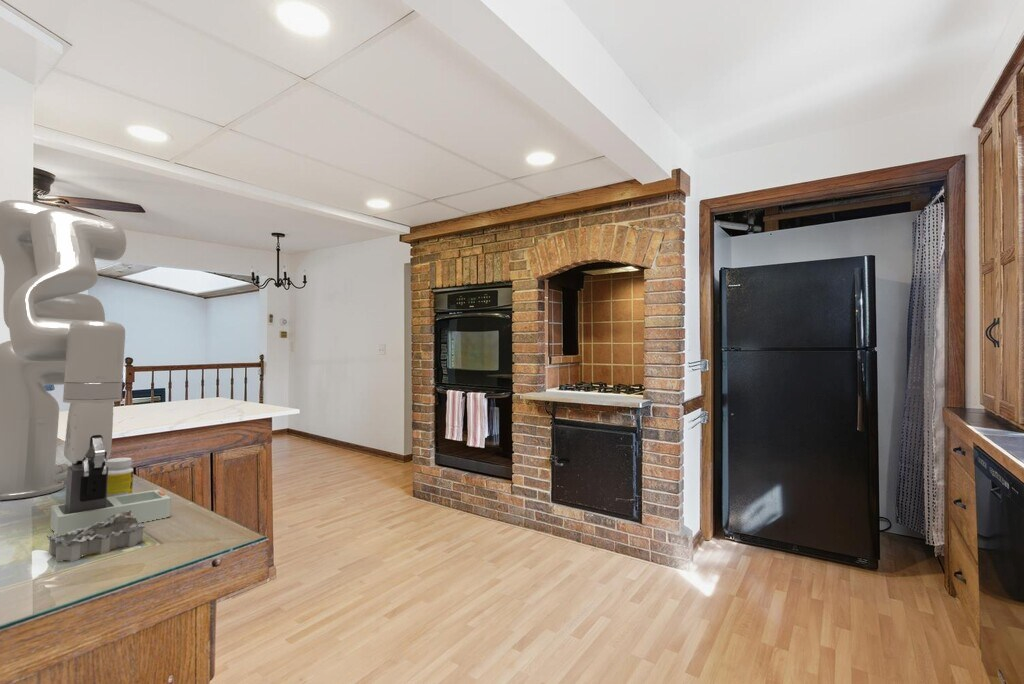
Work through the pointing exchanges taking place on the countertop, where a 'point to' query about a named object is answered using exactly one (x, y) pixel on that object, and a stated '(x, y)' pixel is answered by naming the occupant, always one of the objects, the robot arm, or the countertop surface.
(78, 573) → the countertop surface
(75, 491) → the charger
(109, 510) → the power strip
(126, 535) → the egg carton
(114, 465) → the supplement bottle
